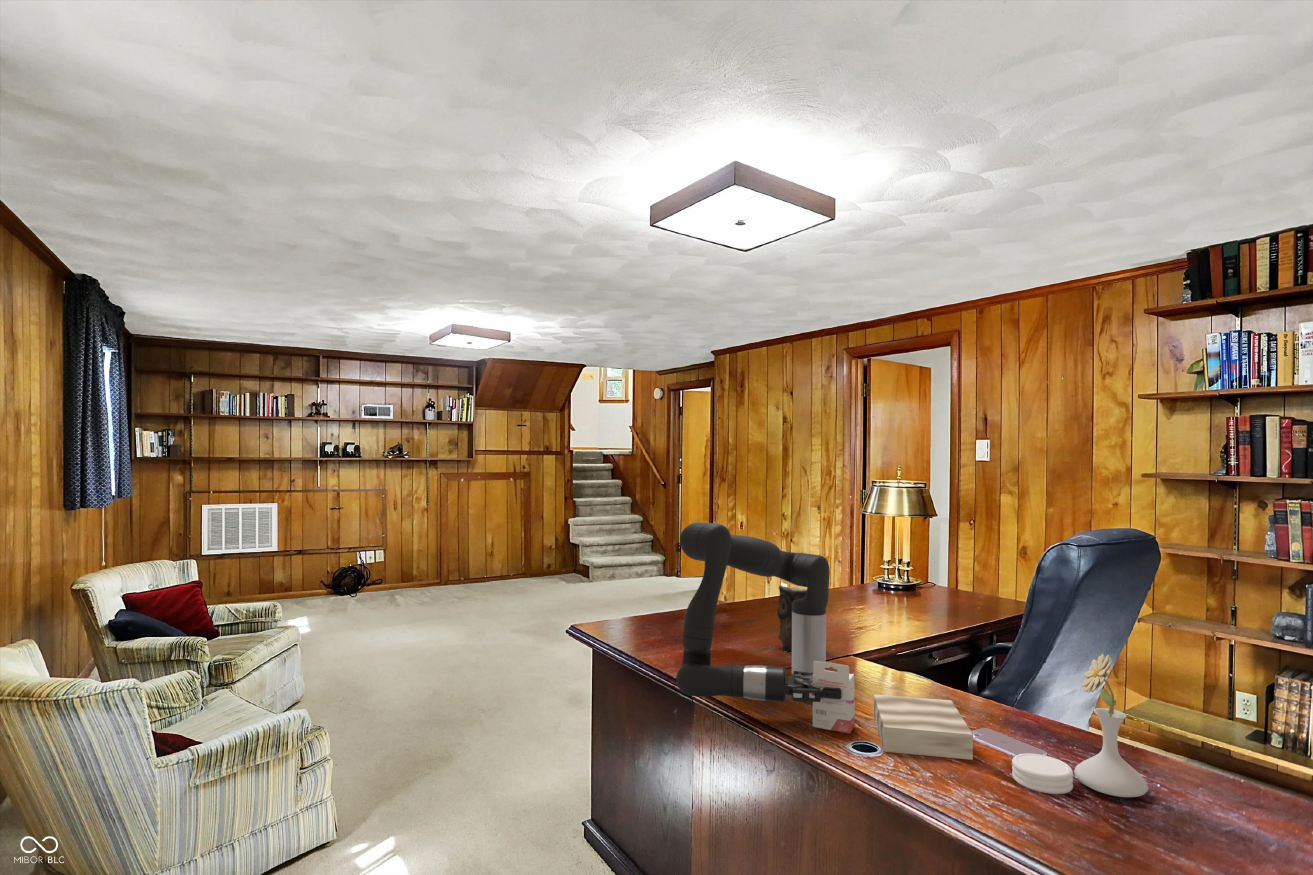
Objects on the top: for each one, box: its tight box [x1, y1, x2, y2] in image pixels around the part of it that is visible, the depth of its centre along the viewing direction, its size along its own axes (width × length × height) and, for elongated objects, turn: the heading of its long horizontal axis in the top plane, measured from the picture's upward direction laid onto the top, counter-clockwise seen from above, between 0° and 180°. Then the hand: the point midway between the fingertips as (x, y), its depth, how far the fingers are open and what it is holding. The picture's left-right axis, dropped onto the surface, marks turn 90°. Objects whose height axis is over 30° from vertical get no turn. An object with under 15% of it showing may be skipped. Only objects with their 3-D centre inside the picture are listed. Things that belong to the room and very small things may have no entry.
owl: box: [776, 584, 807, 652], centre depth 215 cm, size 13×13×20 cm
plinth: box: [873, 694, 974, 761], centre depth 150 cm, size 20×17×5 cm
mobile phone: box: [970, 727, 1048, 757], centre depth 146 cm, size 8×1×15 cm
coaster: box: [1011, 753, 1074, 795], centre depth 129 cm, size 10×10×4 cm
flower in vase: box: [1073, 653, 1149, 798], centre depth 127 cm, size 13×11×25 cm
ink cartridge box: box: [812, 661, 856, 734], centre depth 155 cm, size 9×5×15 cm, turn 62°
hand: (840, 688), depth 155 cm, fingers closed on ink cartridge box, 6 cm apart
